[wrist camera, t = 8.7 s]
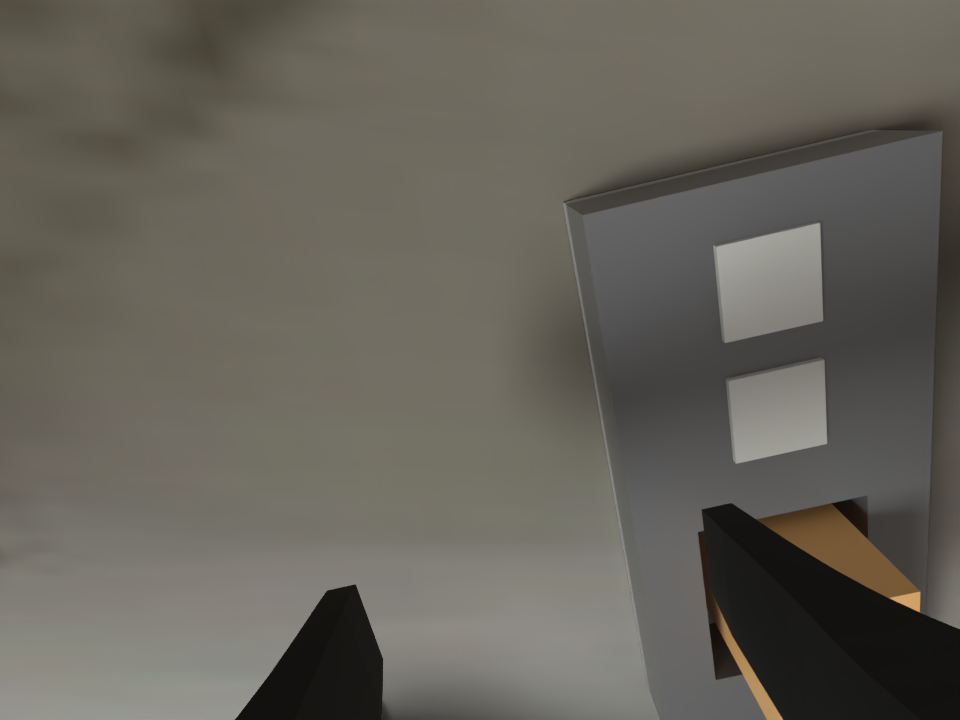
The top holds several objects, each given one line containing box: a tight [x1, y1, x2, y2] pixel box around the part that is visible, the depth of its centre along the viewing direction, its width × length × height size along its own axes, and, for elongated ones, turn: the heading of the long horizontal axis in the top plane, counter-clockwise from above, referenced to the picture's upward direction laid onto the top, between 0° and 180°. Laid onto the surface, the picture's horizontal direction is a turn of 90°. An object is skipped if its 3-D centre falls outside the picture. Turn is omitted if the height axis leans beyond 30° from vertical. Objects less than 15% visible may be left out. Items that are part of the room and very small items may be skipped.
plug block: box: [698, 503, 920, 720], centre depth 21 cm, size 4×5×6 cm
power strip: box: [563, 130, 943, 720], centre depth 21 cm, size 10×20×3 cm, turn 13°
